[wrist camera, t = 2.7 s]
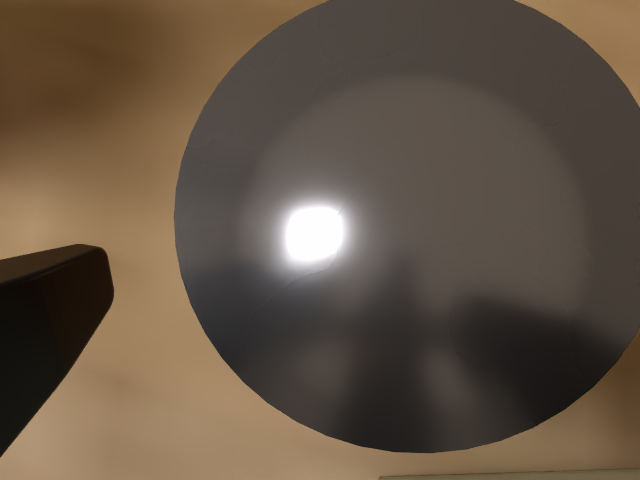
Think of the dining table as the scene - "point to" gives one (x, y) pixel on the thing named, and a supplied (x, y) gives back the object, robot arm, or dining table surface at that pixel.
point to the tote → (534, 475)
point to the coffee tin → (415, 220)
